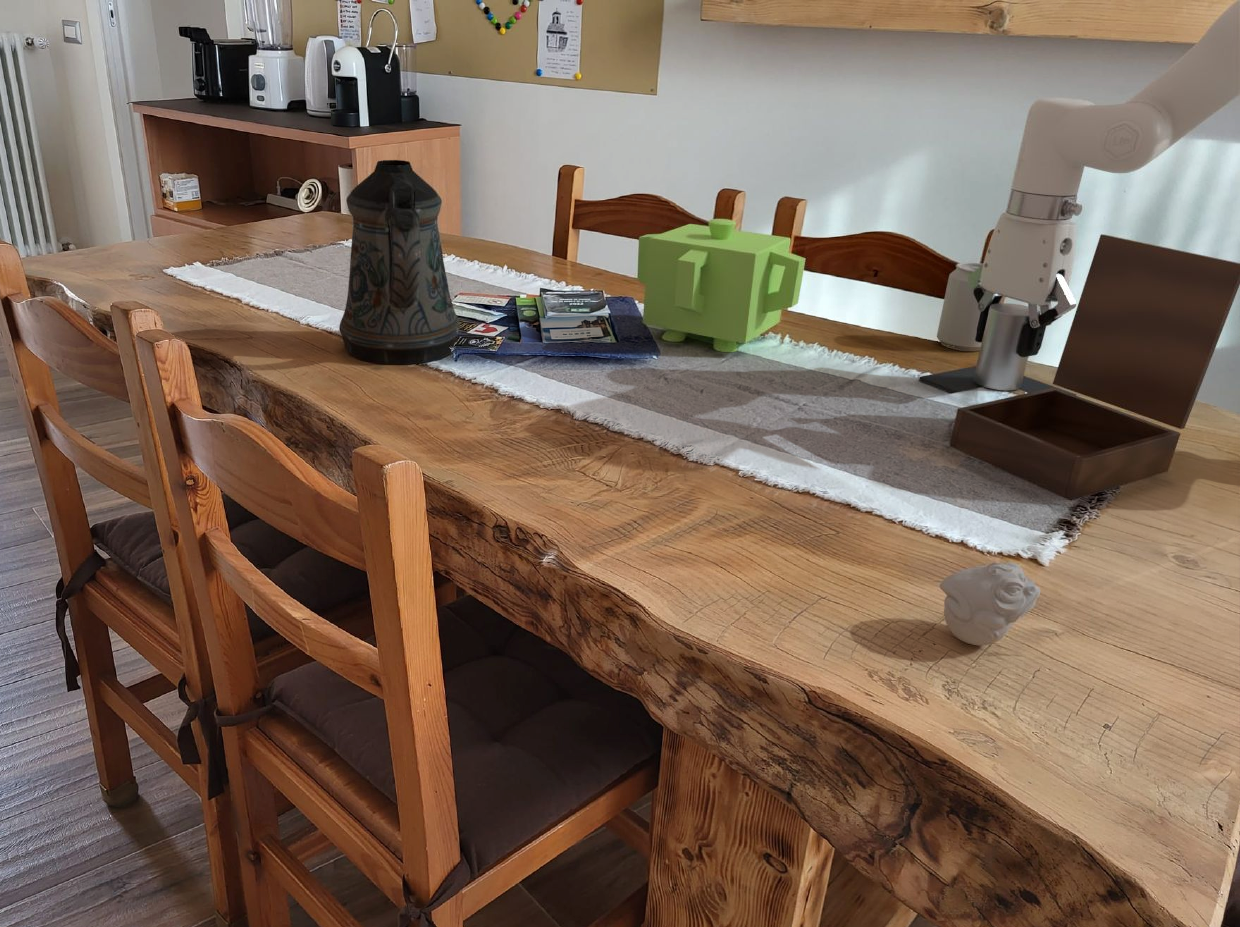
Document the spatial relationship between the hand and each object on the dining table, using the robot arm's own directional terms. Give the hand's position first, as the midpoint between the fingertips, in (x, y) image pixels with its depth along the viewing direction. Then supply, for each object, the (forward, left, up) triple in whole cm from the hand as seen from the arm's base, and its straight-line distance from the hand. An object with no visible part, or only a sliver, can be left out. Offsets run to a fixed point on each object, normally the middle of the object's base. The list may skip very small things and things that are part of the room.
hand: (1005, 346), depth 131 cm
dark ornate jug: (+65, -47, -6) cm, 80 cm away
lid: (+6, +20, +9) cm, 23 cm away
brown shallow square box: (+15, +20, -6) cm, 26 cm away
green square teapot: (+21, -35, -6) cm, 41 cm away
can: (-12, -16, -6) cm, 21 cm away
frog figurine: (+52, +40, -6) cm, 66 cm away
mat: (0, 0, -6) cm, 6 cm away
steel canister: (0, 0, -5) cm, 5 cm away
